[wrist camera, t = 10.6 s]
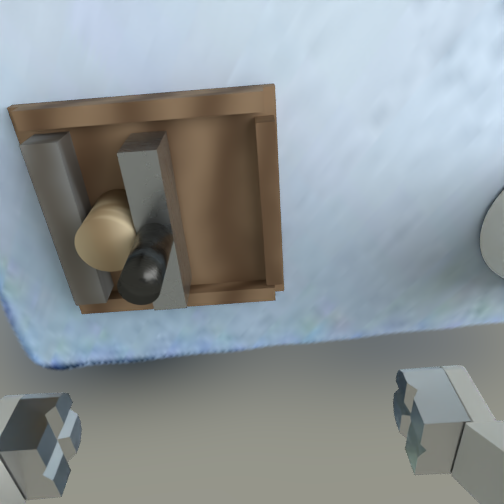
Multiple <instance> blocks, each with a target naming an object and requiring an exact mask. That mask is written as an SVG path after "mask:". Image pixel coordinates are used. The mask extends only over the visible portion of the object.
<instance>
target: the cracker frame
mask: <svg viewBox="0 0 504 504" xmlns="http://www.w3.org/2000/svg"><path fill="white" fill-rule="evenodd" d="M7 109H8V112H9V115H10V118H11V120H12V123H13V126H14V129H15V132H16V135H17V137H18V140H19V143H20V145H19V146H20V149H21V152H22V155H23V157H24V160H25V163H26V166H27V169H28V172H29V174H30V177H31V180H32V183H33V186H34V188H35V191H36V194H37V197H38V200H39V203H40V205H41V208H42V211H43V214H44V217H45V219H46V222H47V225H48V228H49V231H50V234H51V236H52V239H53V242H54V245H55V248H56V250H57V253H58V256H59V259H60V262H61V265H62V267H63V270H64V273H65V276H66V279H67V281H68V284H69V287H70V290H71V293H72V296H73V298H74V301H75V304H76V305H77V306H79V307H80V310H81V313H82V314H90V313H104V312H118V311H132V310H146V309H154V306H153V302H152V303H150V304H147V305H135V304H132V303H129V302H128V301H126V300H125V299H123V298H122V297H121V295H120V294H119V292H118V289H117V283H118V280H119V277H120V275H121V272H122V270H123V269H122V270H119V271H113V272H108V271H101V270H98V269H95V268H93V267H91V266H90V265H88V264H87V263H85V262H84V261H83V260H82V259H81V257H80V256H79V255H78V253H77V251H76V248H75V242H74V241H75V235H76V232H77V231H78V229H79V228H80V226H81V225H82V223H83V221H84V220H85V218H86V217H87V215H88V214H89V212H90V211H91V209H92V208H93V206H94V205H95V203H96V202H97V200H98V198H99V197H100V196H101V195H102V194H103V193H105V192H107V191H109V190H113V189H124V190H125V186H124V181H123V177H122V173H121V169H120V165H119V161H118V156H117V152H118V151H119V149H120V148H121V146H122V145H123V144H124V142H125V141H126V139H127V138H128V137H129V135H130V134H131V133H142V132H155V131H166V132H167V138H168V143H169V149H170V155H171V161H172V166H173V172H174V178H175V183H176V189H177V195H178V201H179V206H180V212H181V218H182V223H183V229H184V235H185V241H186V246H187V252H188V258H189V263H190V269H191V275H192V279H191V285H190V291H189V297H188V303H187V307H188V306H203V305H217V304H231V303H245V302H259V301H273V300H275V291H284V279H283V257H282V234H281V212H280V189H279V167H278V144H277V122H276V99H275V85H274V84H264V85H252V86H239V87H227V88H215V89H202V90H190V91H178V92H165V93H153V94H141V95H129V96H116V97H104V98H92V99H79V100H67V101H55V102H42V103H30V104H18V105H11V106H10V107H8V108H7Z"/></svg>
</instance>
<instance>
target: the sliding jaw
mask: <svg viewBox="0 0 504 504" xmlns="http://www.w3.org/2000/svg"><path fill="white" fill-rule="evenodd" d="M117 156H118V161H119V165H120V169H121V173H122V177H123V181H124V186H125V190H126V194H127V198H128V202H129V206H130V211H131V215H132V219H133V223H134V227H135V231H136V238H135V241H134V243H133V246H132V248H131V250H130V253H129V255H128V258H127V260H126V263H125V265H124V268H123V270H122V272H121V275H120V277H119V280H118V283H117V289H118V292H119V294H120V295H121V297H122V298H123V299H125V300H126V301H128V302H129V303H132V304H135V305H147V304H150V303H152V302H153V306H154V310H165V309H179V308H187V303H188V297H189V291H190V285H191V279H192V275H191V269H190V263H189V258H188V252H187V246H186V241H185V235H184V229H183V223H182V218H181V212H180V206H179V201H178V195H177V189H176V183H175V178H174V172H173V166H172V161H171V155H170V149H169V143H168V138H167V132H166V131H155V132H142V133H131V134H130V135H129V137H128V138H127V139H126V141H125V142H124V144H123V145H122V146H121V148H120V149H119V151H118V152H117Z"/></svg>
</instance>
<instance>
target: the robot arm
mask: <svg viewBox="0 0 504 504" xmlns="http://www.w3.org/2000/svg"><path fill="white" fill-rule="evenodd" d="M480 249H481V253H482V256H483V259H484V261H485V262H486V264H487V265H488V267H489V268H490V269H491V270H492V271H493V272H494V273H496V274H497V275H499V276H500V277H502V278H503V279H504V190H503V191H502V192H501V194H500V195H499V196H498V197H497V198H496V200H495V201H494V203H493V204H492V206H491V207H490V209H489V211H488V213H487V215H486V217H485V219H484V222H483V225H482V229H481V234H480ZM396 383H397V385H398V388H399V389H398V390H397V391H396V392H395V393H394V399H393V408H394V416H395V420H396V424H397V427H398V430H399V432H400V433H401V434H402V435H403V436H404V437H406V438H407V441H406V447H405V450H406V453H407V456H408V458H409V461H410V464H411V467H412V469H413V472H414V475H423V474H451V475H452V477H453V478H454V479H455V480H456V481H457V482H458V483H459V484H460V485H461V486H462V487H463V488H464V489H465V490H466V491H468V492H469V494H470V495H472V497H473V498H474V499H476V500H477V502H478V503H479V504H504V421H503V420H499V421H496V419H495V418H494V416H493V414H492V412H491V411H490V409H489V407H488V406H487V404H486V402H485V401H484V399H483V397H482V396H481V394H480V392H479V390H478V389H477V387H476V385H475V384H474V382H473V380H472V379H471V377H470V375H469V373H468V372H467V370H466V369H465V367H463V366H462V365H455V366H442V367H425V368H413V369H401V370H398V372H397V376H396ZM72 403H73V402H72V400H71V398H70V395H69V393H45V394H25V395H5V396H4V397H3V398H2V399H1V400H0V504H25V503H26V501H25V500H33V499H45V498H55V497H62V494H63V491H64V489H65V485H66V483H67V480H68V477H69V474H70V472H71V469H70V467H69V465H68V461H69V460H70V459H71V458H72V457H73V456H74V455H75V454H76V453H77V451H78V448H79V445H80V442H81V431H82V428H81V421H80V419H79V416H78V414H77V413H75V412H73V411H72V410H71V409H70V408H71V406H72Z"/></svg>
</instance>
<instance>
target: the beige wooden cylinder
mask: <svg viewBox="0 0 504 504" xmlns="http://www.w3.org/2000/svg"><path fill="white" fill-rule="evenodd" d="M135 238H136V231H135V227H134V223H133V219H132V215H131V211H130V206H129V202H128V198H127V194H126V190H124V189H113V190H109V191H107V192H105V193H103V194H102V195H101V196H100V197H99V198H98V200H97V202H96V203H95V205H94V206H93V208H92V209H91V211H90V212H89V214H88V215H87V217H86V218H85V220H84V221H83V223H82V225H81V226H80V228H79V229H78V231H77V232H76V235H75V241H74V242H75V248H76V251H77V253H78V255H79V256H80V257H81V259H82V260H83V261H84V262H85V263H87V264H88V265H90V266H91V267H93V268H95V269H98V270H101V271H108V272H113V271H119V270H122V269H123V268H124V265H125V263H126V260H127V258H128V255H129V253H130V250H131V248H132V246H133V243H134V241H135Z"/></svg>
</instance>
